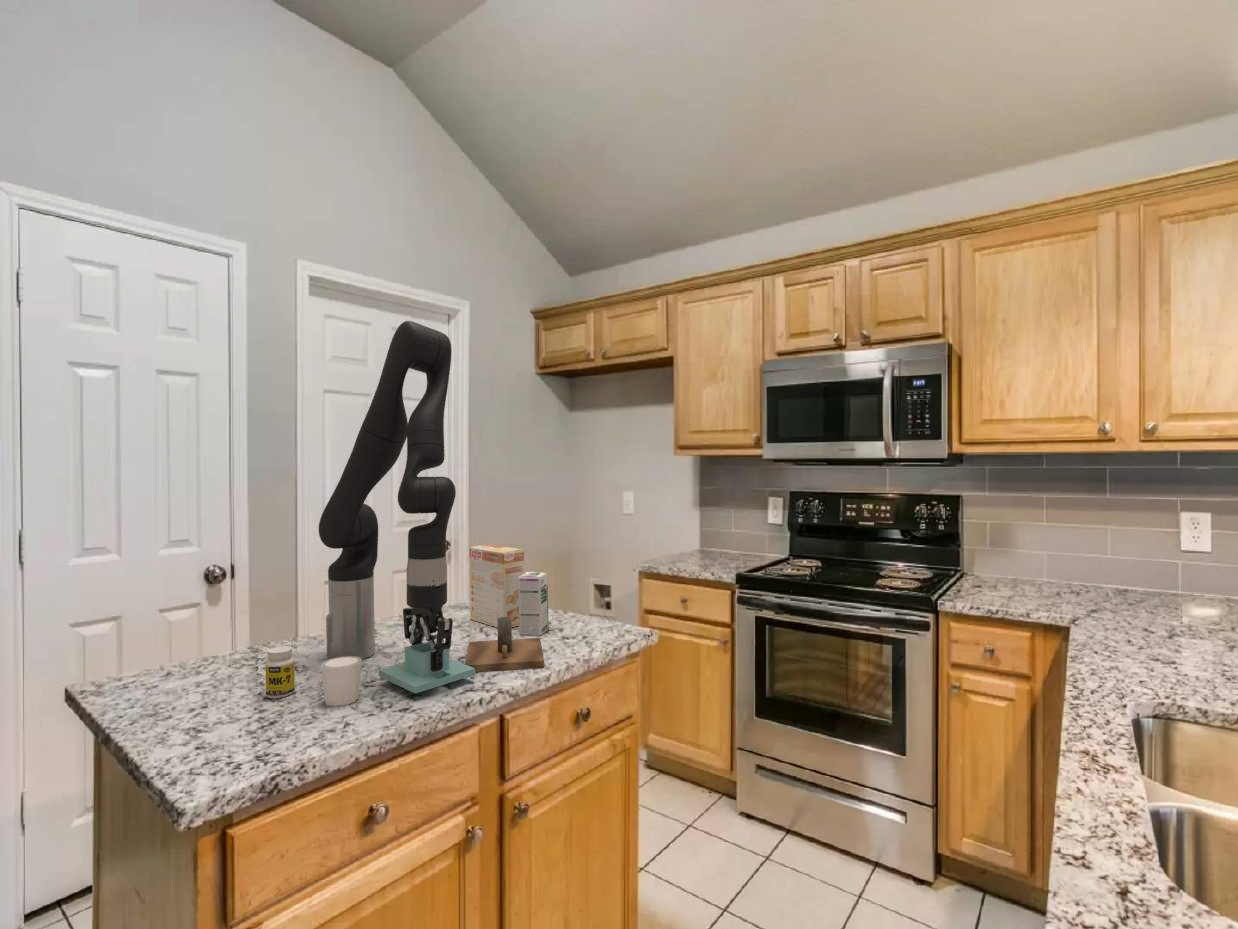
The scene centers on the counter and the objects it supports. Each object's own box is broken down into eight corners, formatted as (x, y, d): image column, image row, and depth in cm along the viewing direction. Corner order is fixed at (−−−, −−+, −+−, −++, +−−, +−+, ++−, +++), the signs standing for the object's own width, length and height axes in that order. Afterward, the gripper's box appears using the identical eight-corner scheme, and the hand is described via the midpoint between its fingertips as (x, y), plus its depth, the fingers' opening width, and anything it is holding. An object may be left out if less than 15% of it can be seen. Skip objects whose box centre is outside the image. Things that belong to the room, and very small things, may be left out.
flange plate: (378, 675, 124) (378, 647, 124) (437, 659, 134) (437, 633, 134) (414, 693, 115) (414, 663, 115) (475, 674, 125) (475, 646, 125)
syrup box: (541, 636, 155) (541, 576, 154) (518, 635, 156) (517, 575, 156) (548, 629, 160) (548, 571, 160) (526, 628, 162) (525, 571, 161)
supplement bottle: (265, 701, 116) (264, 654, 116) (266, 692, 120) (265, 647, 120) (295, 696, 118) (294, 650, 118) (294, 687, 123) (293, 644, 122)
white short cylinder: (353, 689, 121) (352, 652, 121) (368, 699, 116) (368, 661, 116) (315, 700, 117) (314, 661, 116) (329, 711, 112) (329, 671, 111)
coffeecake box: (526, 624, 165) (525, 549, 164) (503, 630, 160) (502, 552, 159) (491, 614, 175) (490, 543, 175) (469, 619, 170) (468, 546, 169)
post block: (464, 672, 130) (464, 631, 130) (469, 648, 146) (468, 611, 145) (544, 667, 133) (543, 626, 132) (540, 644, 148) (539, 607, 148)
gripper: (389, 577, 126) (390, 662, 126) (430, 589, 116) (430, 680, 117) (423, 572, 131) (423, 653, 132) (465, 582, 122) (465, 670, 122)
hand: (427, 666), depth 124 cm, fingers closed on flange plate, 6 cm apart
